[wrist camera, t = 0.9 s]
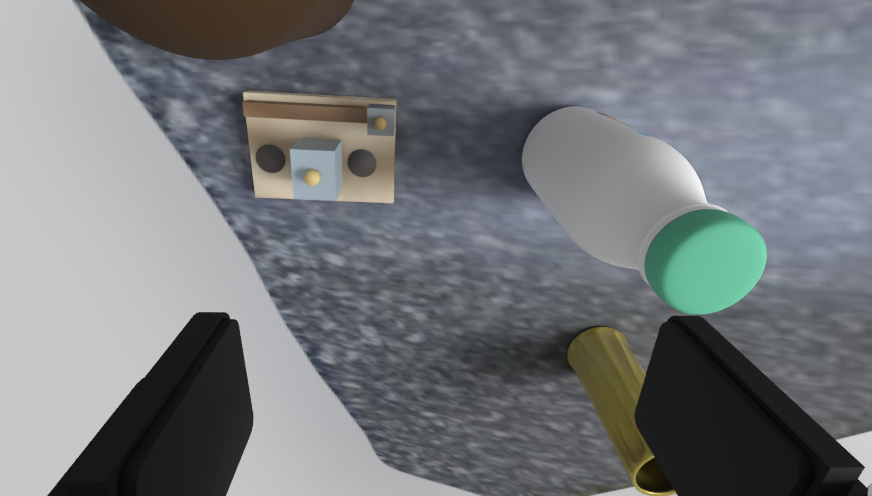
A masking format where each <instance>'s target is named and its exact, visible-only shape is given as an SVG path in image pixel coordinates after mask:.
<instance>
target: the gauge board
mask: <svg viewBox="0 0 872 496" xmlns="http://www.w3.org/2000/svg"><path fill="white" fill-rule="evenodd" d="M243 98H244V102H242V104H243V112H244V117H246V123H247V131H248V140H249V148H250V156H251V165H252V173H253V181H254V190H255V197H259V198H283V199H294V196H293V184H292V171H291V159H290V148H291V147H292V146H293V145H294V144H295V143H296V142H297V141H299V140H300V139H301V138H313V139H332V140H342V169H343V187H342V189H341V191H340V194H339V196H338V198H337V200H336V201H354V202H377V203H394V179H395V135H396V99H389V98H372V97H355V96H338V95H321V94H304V93H287V92H270V91H253V90H248V91H245V92H243Z"/></svg>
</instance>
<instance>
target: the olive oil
mask: <svg viewBox="0 0 872 496" xmlns="http://www.w3.org/2000/svg"><path fill="white" fill-rule="evenodd" d="M80 1H81V2H82V3H84V4H85V5H86V6H87V7H88V8H90V9H91V10H92V11H94V12H95V13H96V14H98V15H99V16H100V17H102V18H103V19H105V20H106V21H108V22H109V23H111V24H113V25H114V26H116V27H117V28H119V29H121V30H123V31H124V32H126V33H128V34H130V35H132V36H133V37H135V38H137V39H139V40H141V41H143V42H146V43H148V44H150V45H152V46H155V47H157V48H160V49H163V50H165V51H168V52H171V53H175V54H178V55H183V56H187V57H192V58H198V59H209V60H227V59H236V58H243V57H248V56H252V55H255V54H258V53H261V52H264V51H267V50H270V49H272V48H275V47H278V46H280V45H283V44H286V43H289V42H292V41H295V40H299V39H303V38H308V37H312V36H316V35H319V34H321V33H323V32H325V31H327V30H329V29H331V28H332V27H333V26H335V25H336V24H337V23H338V22H339V21H340V20H341V19H342V18H343V17H344V16H345V15H346V13H347V12H348V10H349V9H350V7H351V5H352V3H353V1H354V0H80Z"/></svg>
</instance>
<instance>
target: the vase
mask: <svg viewBox="0 0 872 496" xmlns="http://www.w3.org/2000/svg"><path fill="white" fill-rule="evenodd" d="M567 357H568V362H569V364H570V366H571V367H572V368H573V369H574V371H575V372H576V374H577V376H578V378H579V380H580V381H581V383H582V385H583V386H584V388H585V390H586V392H587V394H588V396H589V397H590V400H591V402H592V404H593V406H594V408H595V410H596V412H597V414H598V416H599V418H600V420H601V422H602V423H603V425H604V427H605V429H606V431H607V433H608V435H609V437H610V439H611V442H612V444H613V446H614V448H615V450H616V452H617V454H618V456H619V458H620V460H621V462H622V464H623V466H624V468H625V470H626V471H627V473H628V475H629V477H630V480H631V482H632V484H633V485H634V487H635V488H636V489H637V490H638V491H639V492H641V493H643V494H646V495H650V496H669V495H673V494H676V492H675V490H674V489H673V487H672V485H671V484H670V482H669V480H668V479H667V477H666V475H665V474H664V472H663V470H662V469H661V467H660V465H659V464H658V462H657V460H656V459H655V457H654V455H653V454H652V452H651V450H650V449H649V447H648V445H647V444H646V442H645V440H644V439H643V437H642V435H641V434H640V432H639V430H638V428H637V426H636V423H635V418H634V413H635V409H636V406H637V402H638V399H639V396H640V392H641V389H642V386H643V382H644V379H645V376H646V373H645V372H644V370H643V369H642V367H641V366H640V364H639V363H638V361H637V360H636V358H635V356H634V354H633V352H632V351H631V349H630V347H629V345H628V344H627V342H626V339H625V337H624V335H623V334H621V333H620V332H619V331H617V330H615V329H612V328H610V327H595V328H591V329H588V330H586V331H584V332H582V333H581V334H579V335H578V336H577V337H576V338H575V339H574V340H573V341H572V343H571V344H570V346H569V349H568V354H567Z"/></svg>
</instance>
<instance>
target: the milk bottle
mask: <svg viewBox="0 0 872 496" xmlns="http://www.w3.org/2000/svg"><path fill="white" fill-rule="evenodd" d="M522 167H523V172H524V175H525V177H526V179H527V181H528V183H529V184H530V186H531V187H532V189H533V190H534V191H535V193H536V194H537V195H538V197H539V198H540V199H541V201H542V202H543V203H544V205H545V206H546V207H547V209H548V210H549V211H550V213H551V214H552V215H553V216H554V218H555V219H556V220H557V221H558V223H559V224H560V225H561V226H562V228H563V229H564V230H565V231H566V232H567V234H568V235H569V236H570V237H571V238H572V239H573V240H574V241H575V242H576V243H577V244H578V245H579V246H580V247H581V248H582V249H584V250H585V251H586V252H587V253H589V254H590V255H592V256H594V257H595V258H597V259H599V260H601V261H604V262H606V263H609V264H611V265H615V266H619V267H624V268H631V269H636V270H639V271H640V274H641V276H642V278H643V279H644V280H645V282H646V283H647V284H648V285H650V286H651V287H652V289H653V290H654V291H655V292H656V294H657V295H658V296H659V297H660V298H661V299H662V300H663V301H664V302H665V303H667V304H668V305H669V306H671V307H673V308H674V309H676V310H678V311H681V312H684V313H688V314H708V313H713V312H716V311H719V310H722V309H724V308H727V307H729V306H731V305H732V304H734V303H736V302H737V301H739V300H740V299H741V298H743V297H744V296H745V295H746V294H747V293H748V292H749V291H750V290H751V289H752V288H753V287H754V286H755V284H756V283H757V281H758V280H759V278H760V277H761V275H762V273H763V270H764V267H765V264H766V257H767V252H766V246H765V243H764V240H763V238H762V237H761V235H760V234H759V233H758V231H757V230H756V229H755V228H754V227H752V226H751V225H750V224H748V223H747V222H745V221H744V220H742V219H741V218H739V217H737V216H735V215H733V214H731V213H729V212H727V211H726V210H725V209H723V208H721V207H719V206H716V205H712V204H708V203H707V201H706V198H705V195H704V191H703V188H702V185H701V182H700V180H699V178H698V176H697V174H696V172H695V171H694V169H693V168H692V166H691V165H690V164H689V162H688V161H687V160H686V159H685V158H684V157H683V156H682V155H681V154H680V153H678V152H677V151H676V150H675V149H673V148H672V147H671V146H669V145H668V144H666V143H664V142H662V141H660V140H659V139H657V138H655V137H653V136H651V135H649V134H647V133H645V132H643V131H640V130H638V129H636V128H634V127H632V126H630V125H628V124H625V123H623V122H621V121H619V120H616V119H614V118H612V117H610V116H607V115H605V114H603V113H600V112H598V111H595V110H592V109H589V108H586V107H580V106H572V107H565V108H561V109H558V110H556V111H554V112H552V113H550V114H548V115H547V116H545V117H544V118H543V119H541V120H540V121H539V122H538V123H537V124H536V125H535V127H534V128H533V129H532V130H531V132H530V134H529V135H528V137H527V139H526V142H525V144H524V148H523V153H522Z"/></svg>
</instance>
